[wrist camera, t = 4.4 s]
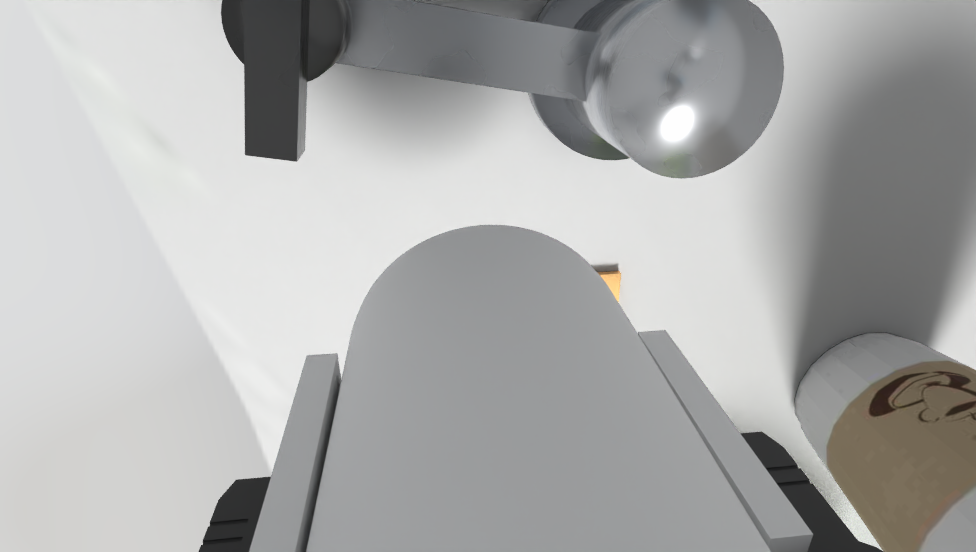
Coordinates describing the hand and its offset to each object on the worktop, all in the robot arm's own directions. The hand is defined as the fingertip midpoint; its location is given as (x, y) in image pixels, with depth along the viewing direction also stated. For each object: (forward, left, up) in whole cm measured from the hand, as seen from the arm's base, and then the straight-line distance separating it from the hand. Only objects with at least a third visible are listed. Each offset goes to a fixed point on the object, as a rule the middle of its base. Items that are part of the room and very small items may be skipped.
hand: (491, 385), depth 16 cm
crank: (-8, +1, -9) cm, 12 cm away
